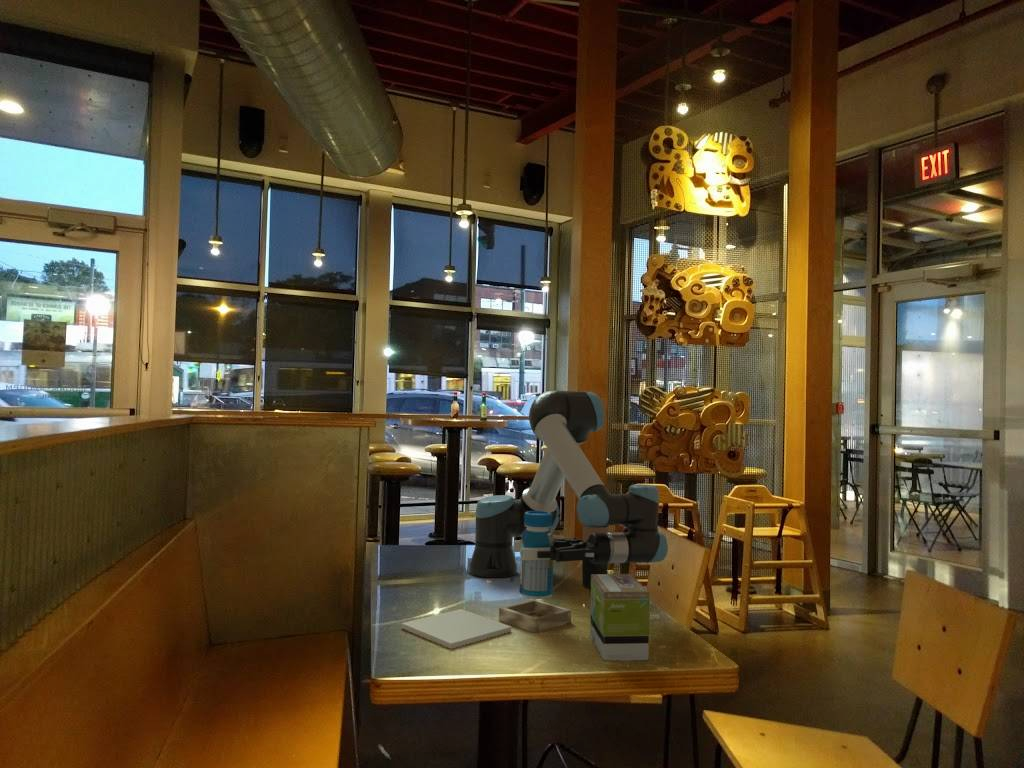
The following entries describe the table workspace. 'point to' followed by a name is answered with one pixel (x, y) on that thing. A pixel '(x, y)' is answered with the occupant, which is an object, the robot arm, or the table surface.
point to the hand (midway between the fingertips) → (518, 550)
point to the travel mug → (587, 565)
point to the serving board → (456, 628)
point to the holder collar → (519, 617)
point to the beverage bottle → (536, 572)
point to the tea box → (619, 617)
